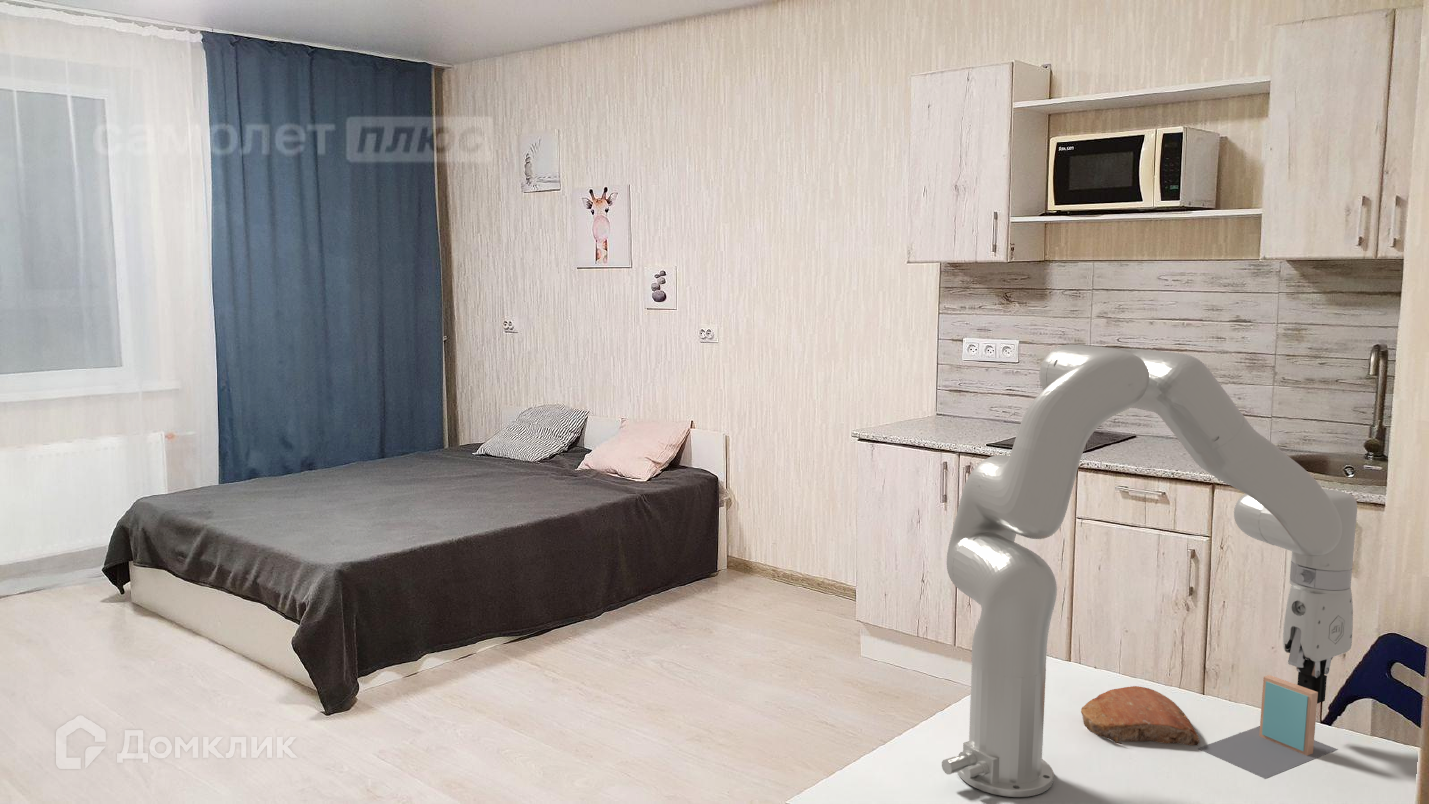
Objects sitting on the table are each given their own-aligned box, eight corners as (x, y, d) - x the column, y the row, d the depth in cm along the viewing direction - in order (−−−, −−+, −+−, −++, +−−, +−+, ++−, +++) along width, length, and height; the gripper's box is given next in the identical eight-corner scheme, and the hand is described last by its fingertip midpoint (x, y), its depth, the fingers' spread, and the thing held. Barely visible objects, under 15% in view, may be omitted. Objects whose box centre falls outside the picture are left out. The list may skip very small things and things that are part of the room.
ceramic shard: (1067, 672, 160) (1163, 687, 160) (1061, 713, 160) (1156, 728, 160) (1101, 699, 146) (1206, 716, 145) (1094, 744, 146) (1199, 760, 145)
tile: (1306, 756, 143) (1311, 694, 141) (1258, 736, 149) (1262, 677, 148) (1313, 753, 143) (1317, 692, 142) (1265, 734, 149) (1269, 675, 148)
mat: (1265, 781, 136) (1265, 778, 136) (1197, 751, 145) (1197, 748, 145) (1337, 752, 145) (1337, 749, 145) (1269, 725, 153) (1269, 722, 153)
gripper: (1316, 591, 139) (1306, 720, 141) (1376, 575, 146) (1366, 698, 149) (1263, 577, 145) (1254, 700, 148) (1323, 562, 153) (1314, 680, 155)
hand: (1310, 699), depth 148 cm, fingers closed
